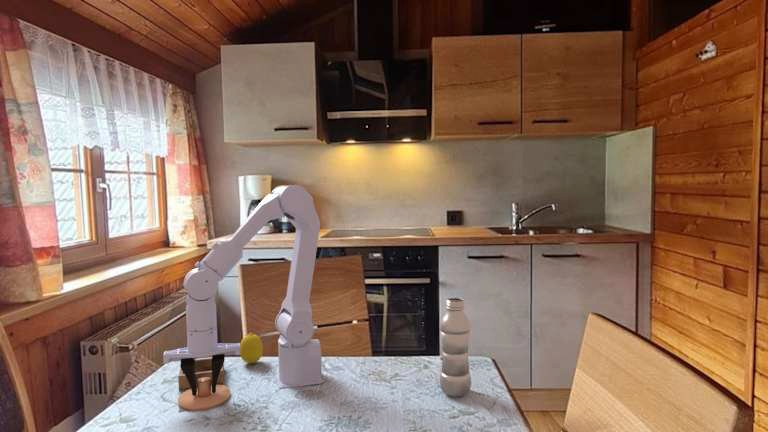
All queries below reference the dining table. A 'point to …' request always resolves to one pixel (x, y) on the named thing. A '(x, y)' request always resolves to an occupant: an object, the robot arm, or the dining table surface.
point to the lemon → (251, 348)
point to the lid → (204, 396)
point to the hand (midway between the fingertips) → (204, 392)
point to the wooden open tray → (200, 373)
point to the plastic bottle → (455, 349)
